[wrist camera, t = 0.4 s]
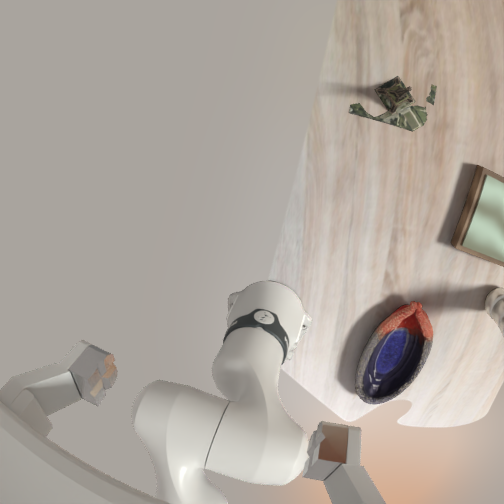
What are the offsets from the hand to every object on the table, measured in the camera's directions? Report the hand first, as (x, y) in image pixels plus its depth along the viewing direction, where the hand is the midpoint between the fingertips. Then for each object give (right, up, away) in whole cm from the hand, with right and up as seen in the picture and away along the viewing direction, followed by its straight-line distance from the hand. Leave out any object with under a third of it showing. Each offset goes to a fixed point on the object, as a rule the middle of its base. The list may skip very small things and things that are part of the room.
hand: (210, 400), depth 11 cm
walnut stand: (+48, +12, +37) cm, 62 cm away
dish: (+34, -17, +54) cm, 66 cm away
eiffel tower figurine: (+26, +32, +35) cm, 54 cm away
